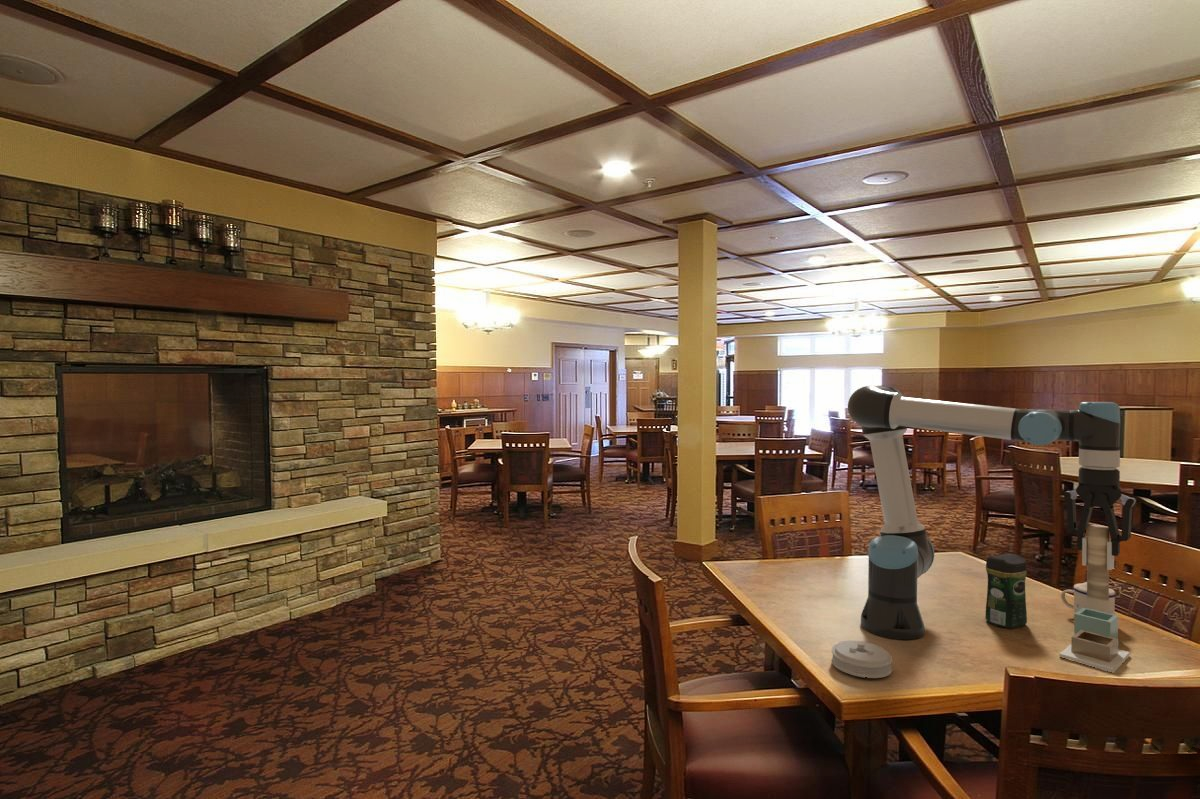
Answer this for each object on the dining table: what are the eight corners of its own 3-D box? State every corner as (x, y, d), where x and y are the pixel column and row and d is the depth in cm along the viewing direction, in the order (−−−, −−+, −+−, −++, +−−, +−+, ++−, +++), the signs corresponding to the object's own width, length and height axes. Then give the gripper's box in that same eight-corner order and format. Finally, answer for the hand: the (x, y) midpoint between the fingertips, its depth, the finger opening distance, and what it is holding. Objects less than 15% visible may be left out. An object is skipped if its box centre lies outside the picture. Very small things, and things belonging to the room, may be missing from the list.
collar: (1109, 662, 141) (1110, 647, 141) (1071, 651, 147) (1071, 637, 147) (1118, 654, 146) (1118, 639, 145) (1080, 643, 151) (1080, 629, 151)
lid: (870, 655, 148) (870, 634, 147) (904, 680, 135) (904, 657, 135) (821, 658, 146) (821, 637, 146) (850, 684, 133) (850, 661, 133)
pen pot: (1109, 646, 152) (1110, 622, 152) (1074, 637, 158) (1074, 613, 158) (1117, 639, 157) (1118, 615, 156) (1082, 630, 162) (1083, 607, 162)
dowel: (1106, 602, 143) (1106, 529, 143) (1084, 598, 146) (1085, 526, 146) (1110, 599, 145) (1111, 527, 145) (1089, 594, 148) (1090, 524, 148)
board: (1113, 673, 138) (1113, 668, 138) (1059, 657, 146) (1059, 653, 146) (1129, 656, 147) (1129, 652, 147) (1077, 642, 154) (1077, 638, 154)
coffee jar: (1002, 615, 173) (1004, 549, 172) (1032, 625, 165) (1033, 556, 165) (979, 620, 169) (980, 553, 168) (1007, 631, 162) (1009, 560, 161)
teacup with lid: (1120, 623, 167) (1121, 580, 167) (1108, 631, 162) (1109, 587, 161) (1067, 610, 177) (1067, 569, 176) (1054, 617, 171) (1055, 575, 171)
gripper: (1150, 469, 141) (1149, 572, 141) (1060, 462, 154) (1059, 556, 155) (1142, 472, 136) (1141, 578, 137) (1050, 465, 149) (1049, 561, 150)
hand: (1098, 566), depth 146 cm, fingers closed on dowel, 4 cm apart
